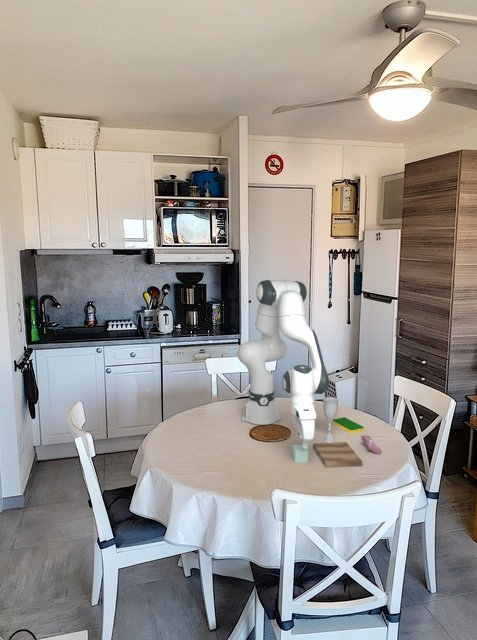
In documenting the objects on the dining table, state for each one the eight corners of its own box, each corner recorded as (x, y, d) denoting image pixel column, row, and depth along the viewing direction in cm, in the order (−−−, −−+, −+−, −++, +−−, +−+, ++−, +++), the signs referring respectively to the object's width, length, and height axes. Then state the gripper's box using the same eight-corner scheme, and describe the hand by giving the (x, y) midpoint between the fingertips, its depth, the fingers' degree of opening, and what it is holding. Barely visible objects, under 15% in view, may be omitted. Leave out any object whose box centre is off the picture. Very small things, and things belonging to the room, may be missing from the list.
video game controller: (363, 448, 202) (357, 434, 200) (373, 443, 202) (367, 429, 200) (372, 458, 192) (365, 443, 191) (382, 453, 192) (375, 438, 191)
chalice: (337, 444, 202) (339, 403, 199) (320, 442, 203) (322, 401, 200) (337, 437, 209) (338, 397, 206) (321, 436, 210) (322, 396, 207)
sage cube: (292, 457, 189) (292, 445, 189) (304, 456, 190) (304, 444, 189) (295, 462, 184) (295, 450, 184) (307, 462, 185) (308, 449, 184)
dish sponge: (344, 421, 229) (344, 416, 228) (363, 432, 216) (363, 426, 216) (332, 424, 226) (332, 419, 225) (351, 434, 213) (351, 429, 213)
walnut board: (313, 447, 198) (313, 443, 198) (346, 446, 199) (346, 441, 199) (325, 467, 180) (326, 462, 180) (361, 466, 182) (362, 461, 181)
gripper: (288, 400, 194) (287, 433, 196) (300, 417, 174) (300, 453, 175) (303, 399, 194) (302, 432, 196) (317, 416, 174) (317, 452, 176)
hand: (301, 442), depth 186 cm, fingers open, 8 cm apart
